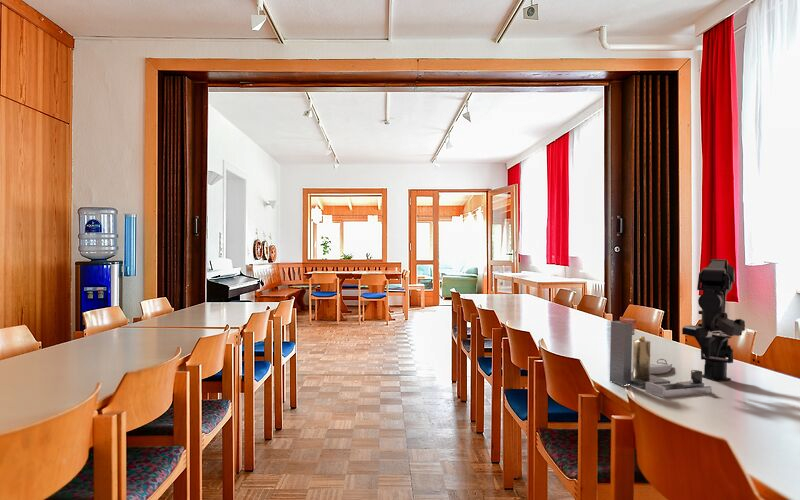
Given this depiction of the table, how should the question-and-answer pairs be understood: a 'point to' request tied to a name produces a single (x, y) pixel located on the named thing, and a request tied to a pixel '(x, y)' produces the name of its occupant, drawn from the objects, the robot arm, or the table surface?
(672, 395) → the guide rail
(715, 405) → the table surface
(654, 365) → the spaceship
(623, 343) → the press bed
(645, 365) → the disc
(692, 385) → the sliding block with knob
